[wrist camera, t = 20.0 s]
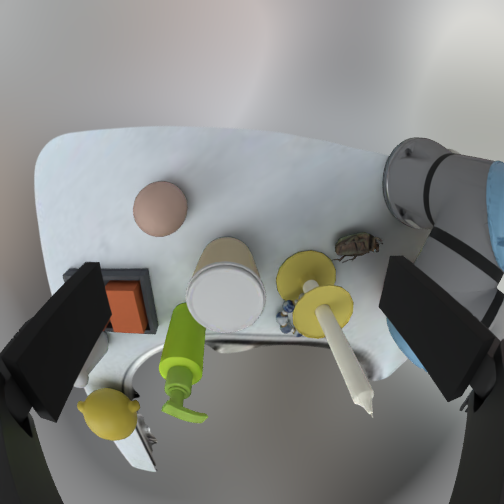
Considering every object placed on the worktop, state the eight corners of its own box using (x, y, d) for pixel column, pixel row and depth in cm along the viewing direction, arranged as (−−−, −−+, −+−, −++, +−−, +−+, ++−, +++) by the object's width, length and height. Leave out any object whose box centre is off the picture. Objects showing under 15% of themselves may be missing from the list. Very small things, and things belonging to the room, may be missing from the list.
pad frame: (148, 268, 42) (143, 276, 40) (158, 325, 46) (155, 334, 44) (69, 268, 41) (62, 275, 39) (84, 321, 45) (79, 328, 43)
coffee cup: (205, 292, 44) (198, 340, 33) (188, 238, 41) (173, 275, 30) (262, 280, 44) (272, 327, 33) (250, 225, 41) (258, 257, 29)
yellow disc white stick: (295, 240, 42) (371, 372, 17) (346, 264, 44) (439, 384, 19) (264, 293, 45) (296, 443, 20) (315, 312, 47) (372, 445, 22)
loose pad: (140, 278, 42) (133, 290, 38) (149, 319, 45) (143, 333, 41) (110, 278, 42) (101, 290, 38) (121, 318, 45) (114, 332, 41)
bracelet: (340, 292, 44) (344, 300, 43) (319, 331, 49) (321, 339, 48) (284, 287, 42) (287, 296, 41) (268, 329, 48) (270, 338, 46)
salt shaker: (82, 322, 45) (54, 366, 33) (107, 324, 46) (81, 372, 34) (91, 345, 47) (67, 390, 35) (115, 347, 48) (93, 395, 36)
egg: (198, 187, 38) (189, 198, 30) (182, 233, 40) (171, 254, 33) (151, 171, 36) (131, 179, 29) (138, 217, 39) (117, 235, 31)
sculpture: (91, 432, 49) (80, 446, 37) (82, 385, 53) (67, 390, 41) (147, 430, 55) (147, 446, 43) (138, 384, 59) (135, 389, 47)
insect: (387, 240, 38) (381, 225, 40) (334, 247, 38) (329, 230, 40) (378, 259, 42) (372, 244, 44) (328, 266, 42) (324, 250, 44)
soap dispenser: (201, 338, 48) (194, 432, 29) (166, 320, 46) (143, 413, 27) (218, 315, 46) (217, 412, 28) (182, 296, 44) (160, 391, 26)
